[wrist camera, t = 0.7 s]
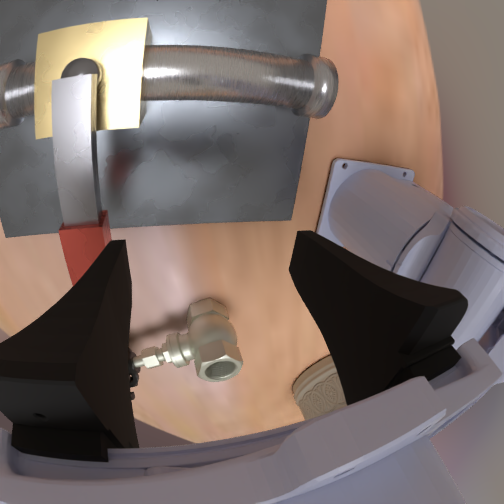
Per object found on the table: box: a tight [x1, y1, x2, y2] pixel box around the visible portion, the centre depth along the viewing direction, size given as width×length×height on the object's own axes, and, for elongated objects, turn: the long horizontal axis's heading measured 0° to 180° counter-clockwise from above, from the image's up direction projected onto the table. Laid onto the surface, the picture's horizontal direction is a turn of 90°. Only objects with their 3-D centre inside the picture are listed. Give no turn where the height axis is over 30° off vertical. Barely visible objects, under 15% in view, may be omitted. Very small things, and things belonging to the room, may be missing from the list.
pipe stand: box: [0, 0, 338, 238], centre depth 12 cm, size 22×18×6 cm
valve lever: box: [52, 58, 112, 286], centre depth 10 cm, size 11×2×2 cm, turn 173°
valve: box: [128, 298, 243, 400], centre depth 23 cm, size 7×7×12 cm
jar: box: [293, 355, 347, 420], centre depth 34 cm, size 13×13×18 cm
